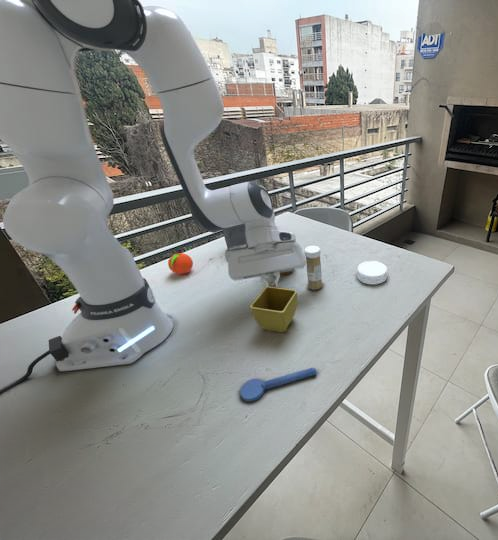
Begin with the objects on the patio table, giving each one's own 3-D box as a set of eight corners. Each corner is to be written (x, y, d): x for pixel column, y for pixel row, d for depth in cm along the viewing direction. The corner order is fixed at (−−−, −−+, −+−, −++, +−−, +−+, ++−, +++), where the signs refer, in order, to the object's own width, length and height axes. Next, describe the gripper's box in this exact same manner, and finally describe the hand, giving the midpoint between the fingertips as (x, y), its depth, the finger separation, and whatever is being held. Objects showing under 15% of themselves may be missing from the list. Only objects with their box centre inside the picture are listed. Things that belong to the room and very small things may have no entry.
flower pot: (287, 339, 70) (283, 312, 66) (255, 334, 72) (248, 307, 67) (301, 316, 78) (297, 290, 73) (271, 311, 79) (266, 285, 74)
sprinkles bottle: (305, 285, 90) (301, 248, 82) (317, 280, 92) (314, 243, 85) (313, 292, 87) (310, 254, 80) (325, 286, 90) (323, 249, 82)
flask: (262, 239, 117) (254, 196, 107) (232, 253, 107) (220, 207, 97) (256, 236, 119) (247, 194, 109) (226, 250, 108) (214, 205, 99)
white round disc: (380, 266, 100) (380, 258, 98) (391, 282, 92) (392, 273, 90) (353, 271, 97) (353, 262, 95) (362, 287, 89) (362, 278, 87)
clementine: (187, 280, 91) (179, 261, 88) (165, 279, 92) (157, 260, 88) (199, 267, 98) (193, 249, 94) (179, 266, 98) (172, 248, 94)
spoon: (241, 404, 56) (239, 400, 55) (241, 385, 59) (239, 380, 59) (318, 381, 61) (318, 376, 60) (314, 364, 64) (313, 360, 63)
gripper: (221, 244, 73) (229, 296, 71) (300, 232, 79) (310, 280, 77) (225, 251, 79) (233, 299, 77) (298, 240, 85) (308, 284, 83)
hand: (273, 289), depth 77 cm, fingers closed
